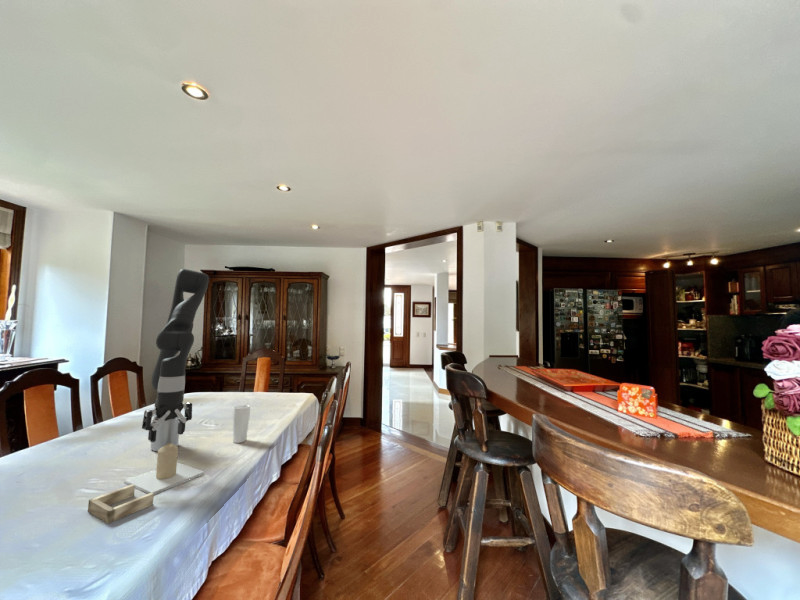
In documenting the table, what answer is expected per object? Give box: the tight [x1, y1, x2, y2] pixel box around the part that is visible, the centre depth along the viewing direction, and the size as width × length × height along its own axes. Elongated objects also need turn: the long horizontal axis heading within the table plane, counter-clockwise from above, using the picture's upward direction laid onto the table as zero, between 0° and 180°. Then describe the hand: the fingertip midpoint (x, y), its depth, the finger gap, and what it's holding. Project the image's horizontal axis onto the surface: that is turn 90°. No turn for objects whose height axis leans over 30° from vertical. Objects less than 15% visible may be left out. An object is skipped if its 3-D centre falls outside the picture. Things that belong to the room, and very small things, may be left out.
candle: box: [155, 443, 179, 479], centre depth 108 cm, size 6×6×10 cm
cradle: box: [87, 484, 155, 524], centre depth 90 cm, size 10×11×3 cm
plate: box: [123, 461, 205, 495], centre depth 108 cm, size 16×16×1 cm
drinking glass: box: [232, 404, 251, 444], centre depth 144 cm, size 7×7×15 cm
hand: (166, 437), depth 109 cm, fingers open, 8 cm apart
